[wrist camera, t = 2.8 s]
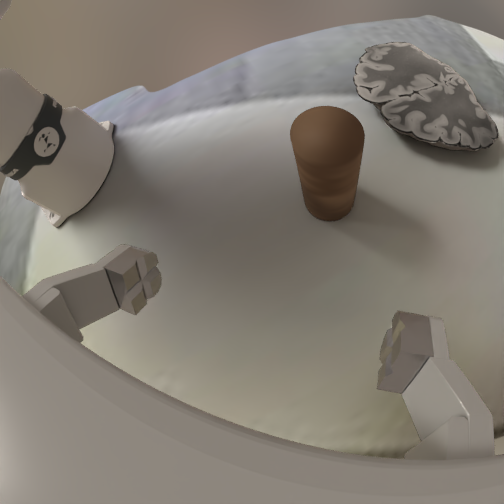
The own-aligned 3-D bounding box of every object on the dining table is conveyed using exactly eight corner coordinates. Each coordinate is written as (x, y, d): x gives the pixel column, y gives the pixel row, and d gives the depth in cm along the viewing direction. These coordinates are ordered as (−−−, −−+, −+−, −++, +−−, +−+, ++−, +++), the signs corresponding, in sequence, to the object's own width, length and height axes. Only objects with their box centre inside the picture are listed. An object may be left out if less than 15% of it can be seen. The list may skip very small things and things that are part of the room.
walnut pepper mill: (296, 211, 26) (278, 151, 16) (314, 169, 26) (304, 100, 17) (345, 228, 24) (353, 173, 15) (359, 184, 25) (371, 116, 15)
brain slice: (321, 78, 30) (320, 62, 27) (409, 51, 28) (412, 37, 25) (424, 195, 23) (434, 181, 20) (504, 144, 21) (513, 131, 18)
